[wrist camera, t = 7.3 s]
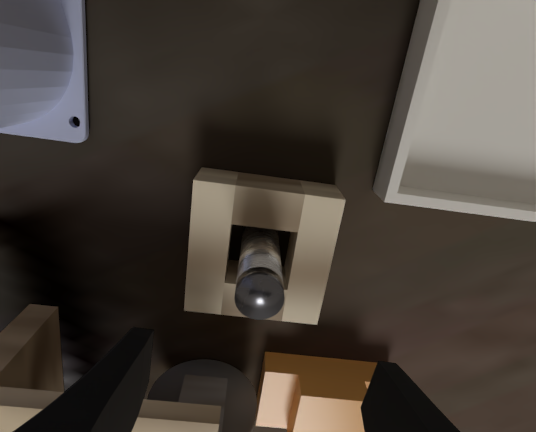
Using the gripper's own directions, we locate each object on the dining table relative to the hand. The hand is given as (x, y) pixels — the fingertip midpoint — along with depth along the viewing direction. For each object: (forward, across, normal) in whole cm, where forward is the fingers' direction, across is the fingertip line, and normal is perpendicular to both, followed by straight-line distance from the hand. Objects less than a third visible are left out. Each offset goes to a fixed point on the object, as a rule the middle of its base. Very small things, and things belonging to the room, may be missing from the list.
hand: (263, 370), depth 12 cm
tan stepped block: (+10, -6, +9) cm, 15 cm away
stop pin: (+9, 0, 0) cm, 9 cm away
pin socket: (+9, 0, 0) cm, 9 cm away
